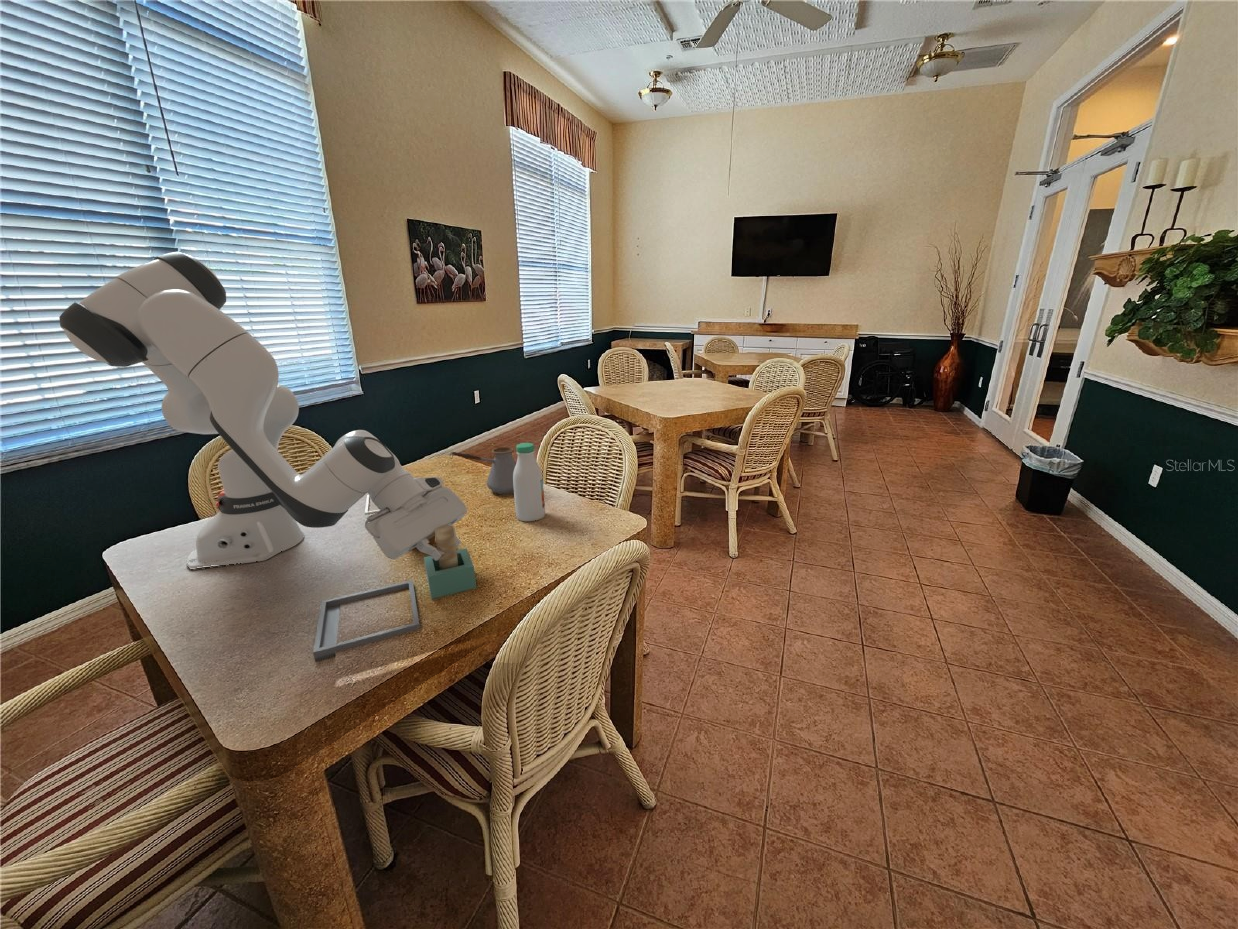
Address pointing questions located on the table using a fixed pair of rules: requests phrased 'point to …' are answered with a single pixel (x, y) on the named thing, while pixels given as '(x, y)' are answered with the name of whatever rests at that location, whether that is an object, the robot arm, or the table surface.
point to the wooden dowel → (446, 546)
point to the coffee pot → (498, 469)
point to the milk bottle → (528, 485)
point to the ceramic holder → (450, 576)
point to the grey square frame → (328, 637)
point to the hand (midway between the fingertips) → (449, 551)
